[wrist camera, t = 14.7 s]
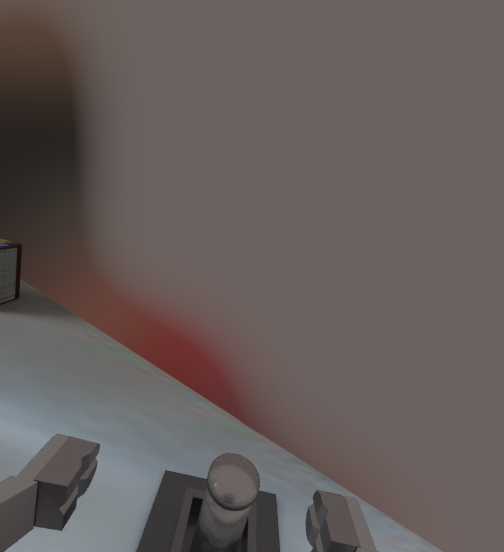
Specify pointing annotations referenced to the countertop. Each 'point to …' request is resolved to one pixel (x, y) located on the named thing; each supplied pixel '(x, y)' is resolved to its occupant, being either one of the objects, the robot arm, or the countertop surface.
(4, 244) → the protein box
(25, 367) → the countertop surface
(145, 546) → the duct collar
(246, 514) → the grey cylinder
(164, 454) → the countertop surface
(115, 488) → the countertop surface
